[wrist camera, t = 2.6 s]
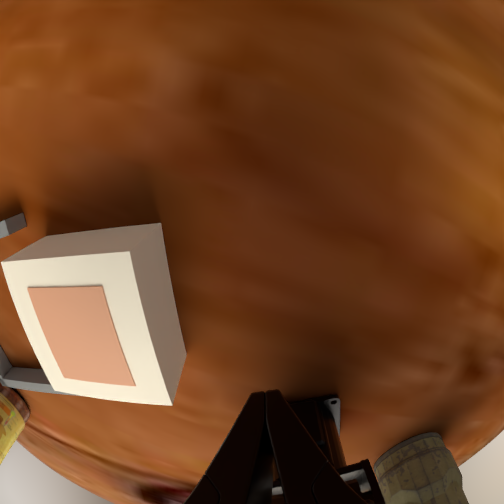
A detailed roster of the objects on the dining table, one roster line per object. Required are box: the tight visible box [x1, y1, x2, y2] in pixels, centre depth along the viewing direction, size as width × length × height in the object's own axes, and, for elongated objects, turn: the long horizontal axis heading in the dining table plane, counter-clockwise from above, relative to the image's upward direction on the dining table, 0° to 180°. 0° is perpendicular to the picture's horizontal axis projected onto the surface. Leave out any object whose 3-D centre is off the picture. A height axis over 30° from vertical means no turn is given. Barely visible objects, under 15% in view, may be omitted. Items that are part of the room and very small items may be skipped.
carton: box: [1, 223, 187, 405], centre depth 16 cm, size 9×8×5 cm
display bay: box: [0, 213, 80, 396], centre depth 18 cm, size 14×12×2 cm
